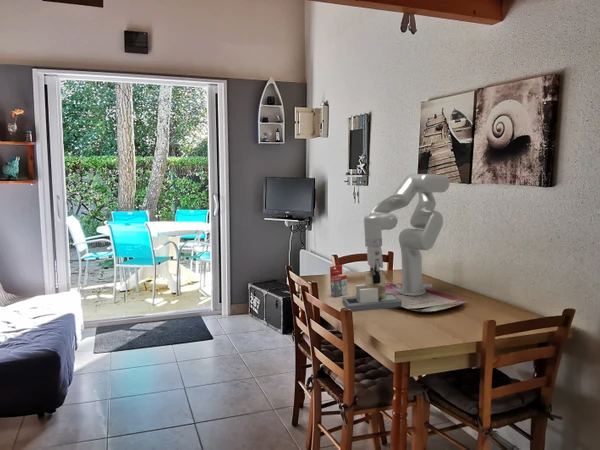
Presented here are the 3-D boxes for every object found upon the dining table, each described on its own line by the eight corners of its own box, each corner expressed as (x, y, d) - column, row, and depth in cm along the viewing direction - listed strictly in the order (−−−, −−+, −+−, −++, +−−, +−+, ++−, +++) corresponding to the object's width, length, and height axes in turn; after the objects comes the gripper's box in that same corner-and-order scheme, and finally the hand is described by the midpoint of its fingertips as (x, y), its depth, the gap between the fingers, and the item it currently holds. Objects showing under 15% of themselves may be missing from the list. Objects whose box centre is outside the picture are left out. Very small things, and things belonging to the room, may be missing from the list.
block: (383, 295, 221) (382, 269, 219) (385, 297, 217) (384, 271, 216) (366, 296, 220) (365, 271, 219) (368, 299, 216) (367, 273, 215)
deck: (392, 298, 227) (392, 292, 227) (401, 306, 213) (401, 300, 213) (342, 302, 224) (342, 296, 224) (349, 311, 211) (348, 305, 210)
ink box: (348, 294, 238) (346, 265, 236) (335, 297, 234) (333, 268, 232) (343, 292, 241) (342, 264, 239) (330, 295, 237) (329, 267, 235)
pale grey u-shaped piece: (372, 296, 223) (372, 283, 222) (378, 301, 214) (377, 288, 213) (356, 297, 222) (355, 285, 222) (360, 303, 213) (360, 290, 212)
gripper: (386, 245, 207) (388, 286, 210) (376, 238, 224) (378, 276, 226) (370, 246, 207) (371, 287, 209) (361, 240, 223) (363, 278, 226)
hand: (375, 281), depth 218 cm, fingers closed on block, 4 cm apart
